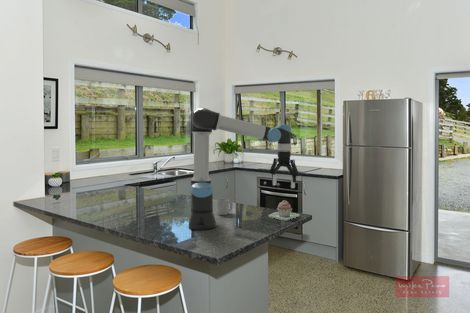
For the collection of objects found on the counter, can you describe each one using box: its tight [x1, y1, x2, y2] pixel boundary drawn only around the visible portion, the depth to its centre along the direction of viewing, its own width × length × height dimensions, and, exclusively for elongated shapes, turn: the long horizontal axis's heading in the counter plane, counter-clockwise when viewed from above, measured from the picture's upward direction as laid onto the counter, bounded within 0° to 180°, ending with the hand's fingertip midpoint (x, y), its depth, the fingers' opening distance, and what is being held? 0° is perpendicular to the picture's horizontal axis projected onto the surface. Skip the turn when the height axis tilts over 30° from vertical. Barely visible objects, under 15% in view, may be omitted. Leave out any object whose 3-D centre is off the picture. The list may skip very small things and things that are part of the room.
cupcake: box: [276, 199, 293, 217], centre depth 233 cm, size 9×9×10 cm
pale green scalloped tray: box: [268, 211, 300, 222], centre depth 234 cm, size 13×14×2 cm
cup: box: [216, 198, 234, 216], centre depth 244 cm, size 7×10×9 cm
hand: (283, 186), depth 232 cm, fingers open, 13 cm apart
